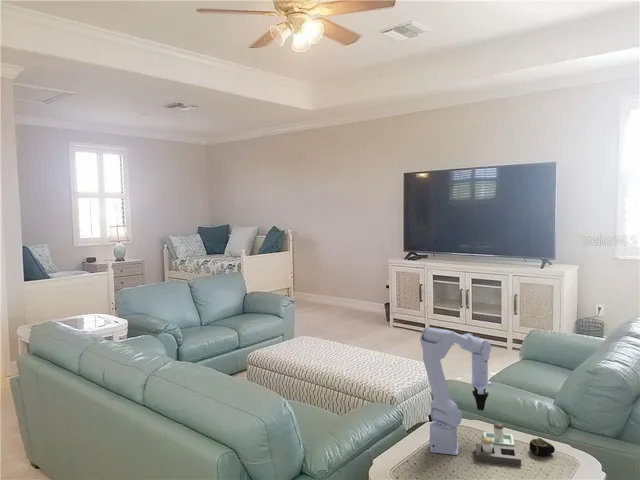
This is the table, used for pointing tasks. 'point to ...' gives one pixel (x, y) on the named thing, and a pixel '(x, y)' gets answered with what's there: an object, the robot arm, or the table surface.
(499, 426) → the cylinder
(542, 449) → the tape measure
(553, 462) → the table surface
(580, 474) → the table surface
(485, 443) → the cylinder
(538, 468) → the table surface
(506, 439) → the parts tray
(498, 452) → the socket block
